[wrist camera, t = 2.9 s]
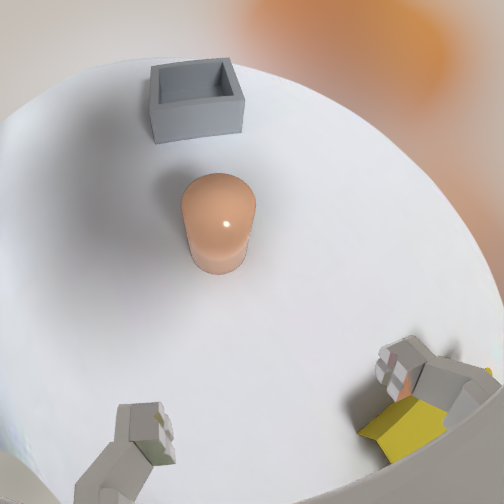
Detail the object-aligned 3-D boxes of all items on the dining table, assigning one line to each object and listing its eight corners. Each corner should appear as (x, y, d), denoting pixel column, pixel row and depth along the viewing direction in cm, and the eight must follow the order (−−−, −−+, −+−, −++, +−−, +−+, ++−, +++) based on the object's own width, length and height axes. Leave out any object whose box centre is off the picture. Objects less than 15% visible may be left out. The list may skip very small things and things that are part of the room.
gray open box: (155, 144, 30) (149, 111, 26) (155, 95, 34) (151, 66, 29) (241, 132, 32) (245, 100, 28) (227, 86, 36) (229, 57, 31)
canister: (195, 279, 25) (185, 242, 18) (187, 228, 27) (178, 179, 20) (251, 269, 26) (263, 229, 19) (240, 219, 28) (247, 169, 21)
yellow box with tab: (531, 416, 14) (444, 533, 10) (484, 418, 22) (401, 510, 17) (488, 303, 19) (380, 429, 15) (438, 322, 26) (336, 416, 22)
